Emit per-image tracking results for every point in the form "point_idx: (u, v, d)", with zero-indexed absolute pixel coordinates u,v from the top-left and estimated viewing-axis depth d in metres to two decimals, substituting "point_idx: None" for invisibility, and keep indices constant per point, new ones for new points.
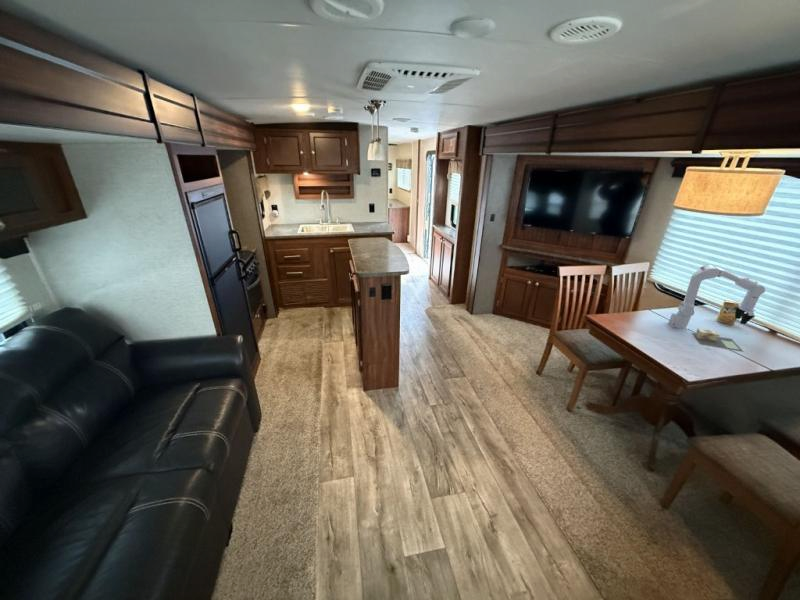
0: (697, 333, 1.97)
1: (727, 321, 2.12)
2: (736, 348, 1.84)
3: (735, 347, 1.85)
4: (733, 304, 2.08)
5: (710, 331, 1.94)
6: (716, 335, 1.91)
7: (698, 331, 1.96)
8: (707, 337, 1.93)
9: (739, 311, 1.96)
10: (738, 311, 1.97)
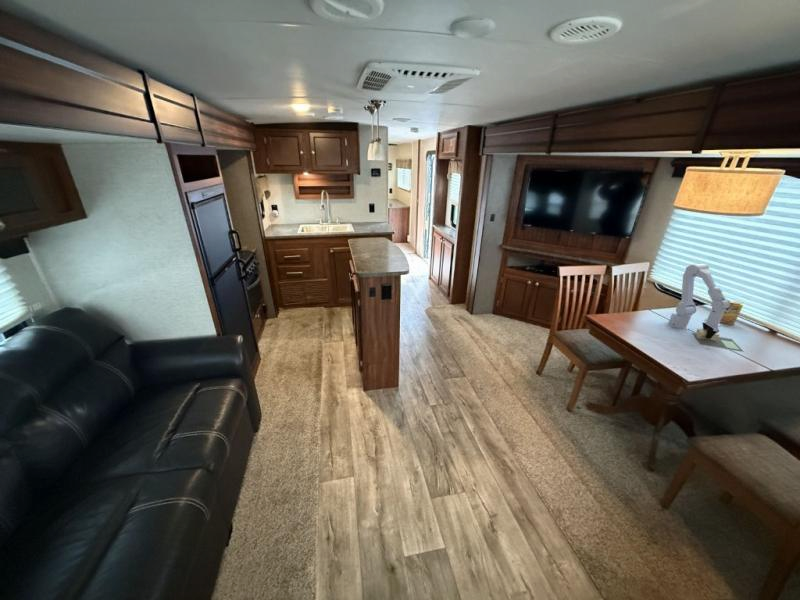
0: (697, 333, 1.97)
1: (727, 321, 2.12)
2: (736, 348, 1.84)
3: (735, 347, 1.85)
4: (733, 304, 2.08)
5: None
6: (716, 335, 1.91)
7: (698, 331, 1.96)
8: None
9: (706, 326, 1.96)
10: (705, 327, 1.96)
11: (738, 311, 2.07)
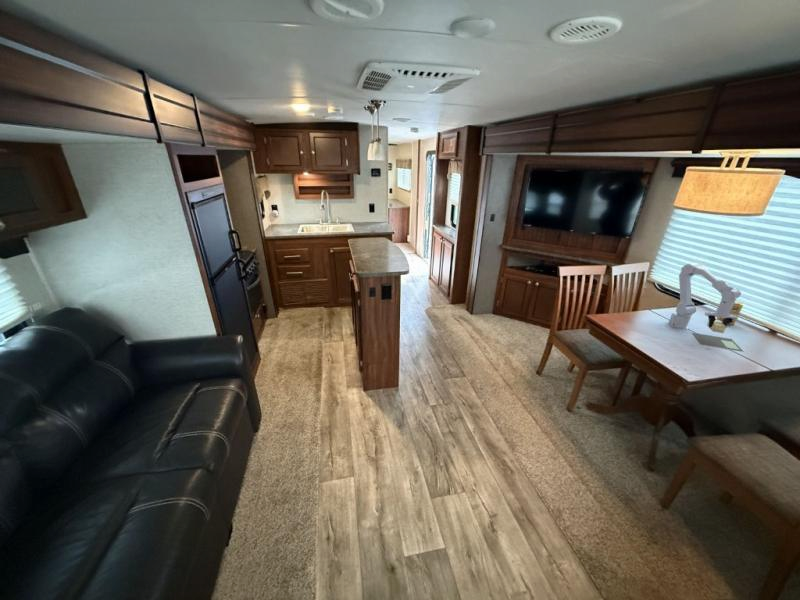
0: None
1: None
2: (736, 348, 1.84)
3: (735, 347, 1.85)
4: None
5: (718, 323, 1.88)
6: (714, 325, 1.88)
7: None
8: None
9: (724, 320, 1.88)
10: (724, 321, 1.88)
11: (738, 311, 2.07)
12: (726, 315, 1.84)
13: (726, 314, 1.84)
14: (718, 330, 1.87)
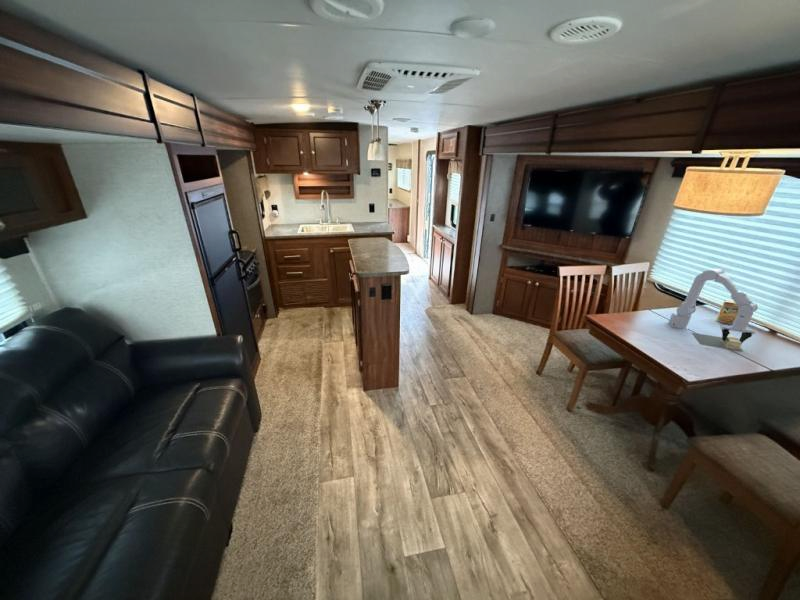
0: None
1: (727, 321, 2.12)
2: None
3: None
4: (733, 304, 2.08)
5: (734, 339, 1.85)
6: (729, 341, 1.84)
7: None
8: (725, 341, 1.88)
9: (743, 335, 1.83)
10: (742, 335, 1.84)
11: (738, 311, 2.07)
12: (743, 329, 1.80)
13: (743, 328, 1.80)
14: (733, 346, 1.83)
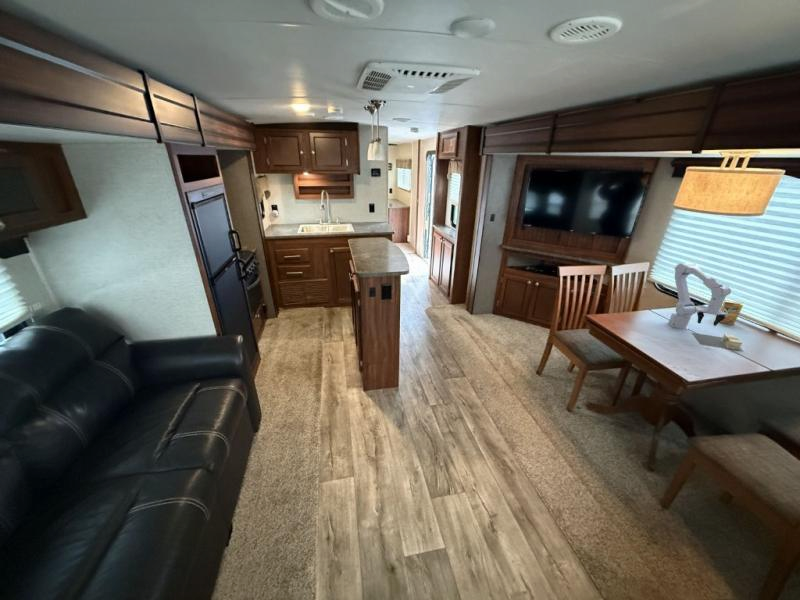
0: None
1: (727, 321, 2.12)
2: None
3: None
4: (733, 304, 2.08)
5: (734, 339, 1.85)
6: (729, 341, 1.84)
7: None
8: (725, 341, 1.88)
9: (717, 317, 1.91)
10: (716, 318, 1.91)
11: (738, 311, 2.07)
12: (716, 312, 1.87)
13: (716, 311, 1.87)
14: (733, 346, 1.83)
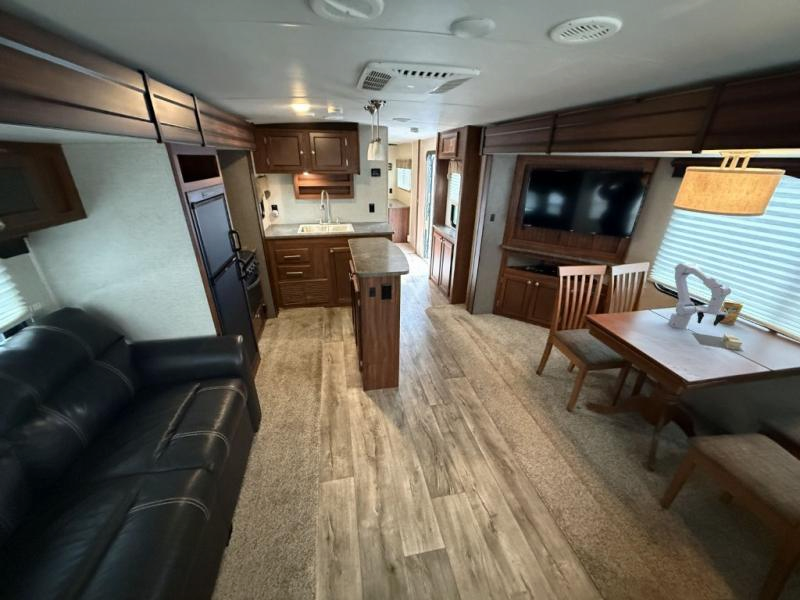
0: None
1: (727, 321, 2.12)
2: None
3: None
4: (733, 304, 2.08)
5: (734, 339, 1.85)
6: (729, 341, 1.84)
7: None
8: (725, 341, 1.88)
9: (717, 317, 1.91)
10: (716, 318, 1.91)
11: (738, 311, 2.07)
12: (716, 312, 1.87)
13: (716, 311, 1.87)
14: (733, 346, 1.83)
